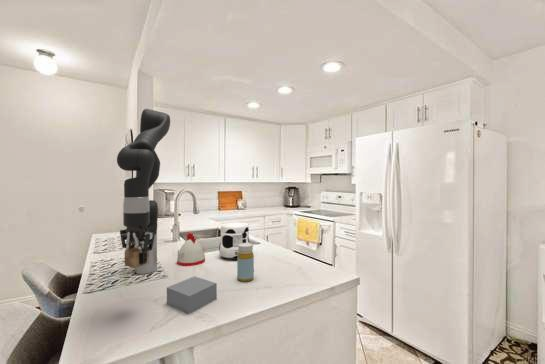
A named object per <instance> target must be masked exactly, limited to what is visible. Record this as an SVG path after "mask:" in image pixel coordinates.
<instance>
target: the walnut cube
mask: <svg viewBox="0 0 545 364" xmlns="http://www.w3.org/2000/svg"><path fill="white" fill-rule="evenodd" d="M142 249H143V247H142ZM139 253H140V252H139V249H138V247H135V248H131V249H128V250H126V249H124V267H128V268H133V269H134V268H137V267H140V266H143V265H146V264H148V263H149V251H147V262H146V263H145V264H142V265H140V264H139Z"/></svg>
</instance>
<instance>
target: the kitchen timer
mask: <svg viewBox="0 0 545 364" xmlns="http://www.w3.org/2000/svg"><path fill="white" fill-rule="evenodd" d="M186 238H187V240H186V241H185V242H184V243H183V244H182V245H181V247H180V249H178V250H177V258H176V260H177V261H176V262H177V266H180V267H194V266H199V265H202V264H204V263H205V261H206V257H205V255H206V254H205V249H204V247H203V246H202V245H201V243H200V242H199V241H197V240H196V238H195V236H194V233H192V232H188V233H187V234H186Z"/></svg>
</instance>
